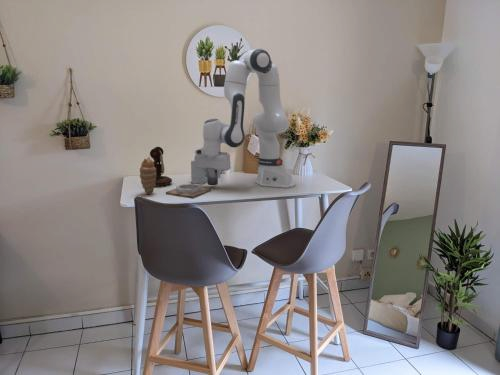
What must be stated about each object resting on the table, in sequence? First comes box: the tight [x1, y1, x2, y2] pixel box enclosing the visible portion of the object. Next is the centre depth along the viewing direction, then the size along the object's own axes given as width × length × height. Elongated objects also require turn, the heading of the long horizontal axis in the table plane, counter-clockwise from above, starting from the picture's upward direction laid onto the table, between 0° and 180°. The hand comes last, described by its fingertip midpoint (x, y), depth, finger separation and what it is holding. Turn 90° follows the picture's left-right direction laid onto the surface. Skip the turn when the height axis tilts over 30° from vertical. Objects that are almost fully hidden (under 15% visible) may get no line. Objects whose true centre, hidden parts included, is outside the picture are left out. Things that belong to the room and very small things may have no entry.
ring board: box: [165, 183, 212, 199], centre depth 197 cm, size 16×16×3 cm
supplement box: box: [190, 159, 207, 185], centre depth 218 cm, size 7×7×13 cm
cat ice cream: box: [139, 156, 157, 195], centre depth 191 cm, size 9×8×18 cm
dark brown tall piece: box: [149, 146, 173, 188], centre depth 210 cm, size 15×15×20 cm
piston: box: [206, 168, 219, 186], centre depth 206 cm, size 6×6×9 cm
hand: (212, 177), depth 206 cm, fingers closed on piston, 5 cm apart
